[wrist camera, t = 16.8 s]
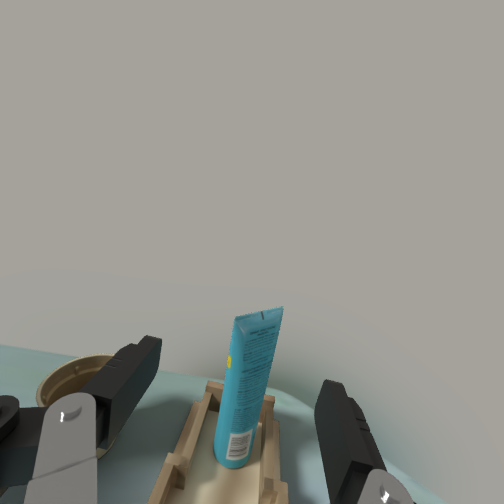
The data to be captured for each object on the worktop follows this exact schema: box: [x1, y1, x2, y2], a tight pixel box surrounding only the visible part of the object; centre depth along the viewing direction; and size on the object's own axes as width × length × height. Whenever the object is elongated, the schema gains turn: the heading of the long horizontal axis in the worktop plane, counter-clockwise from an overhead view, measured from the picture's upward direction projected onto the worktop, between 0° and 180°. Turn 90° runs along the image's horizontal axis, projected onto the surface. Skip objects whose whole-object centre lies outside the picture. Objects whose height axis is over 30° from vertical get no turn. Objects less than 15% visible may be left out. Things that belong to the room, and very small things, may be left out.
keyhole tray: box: [147, 381, 289, 504], centre depth 25 cm, size 13×21×5 cm, turn 175°
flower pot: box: [36, 354, 117, 460], centre depth 28 cm, size 9×9×9 cm
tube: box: [213, 306, 283, 469], centre depth 28 cm, size 7×5×19 cm, turn 136°
